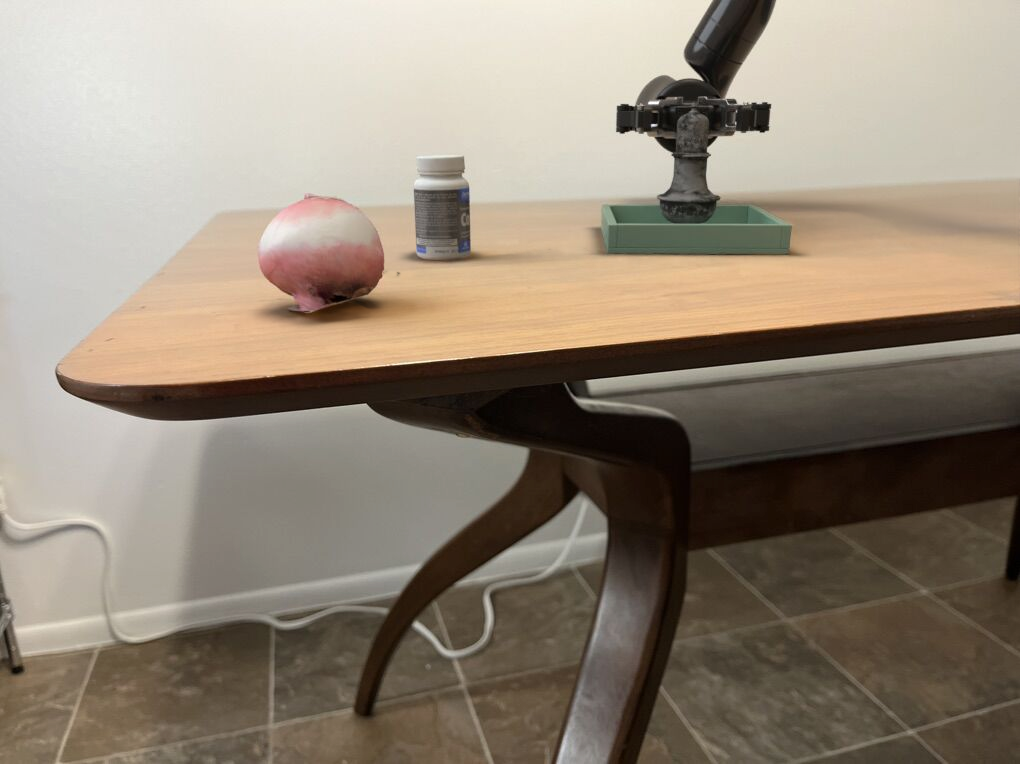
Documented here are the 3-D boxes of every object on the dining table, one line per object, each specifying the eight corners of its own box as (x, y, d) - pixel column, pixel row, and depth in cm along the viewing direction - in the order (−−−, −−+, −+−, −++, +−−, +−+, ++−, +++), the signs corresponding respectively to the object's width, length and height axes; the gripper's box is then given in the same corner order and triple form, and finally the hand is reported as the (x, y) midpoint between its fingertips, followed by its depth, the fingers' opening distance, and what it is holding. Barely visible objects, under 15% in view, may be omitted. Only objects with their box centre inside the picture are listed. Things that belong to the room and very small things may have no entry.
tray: (752, 229, 84) (754, 204, 83) (789, 254, 70) (792, 225, 69) (600, 228, 85) (601, 204, 84) (607, 253, 71) (608, 224, 70)
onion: (403, 297, 56) (398, 190, 53) (361, 326, 48) (353, 203, 46) (295, 292, 57) (285, 188, 55) (239, 320, 50) (225, 201, 48)
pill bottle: (474, 259, 69) (472, 157, 66) (418, 262, 68) (413, 157, 65) (467, 250, 73) (465, 153, 70) (414, 252, 72) (410, 154, 70)
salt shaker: (730, 235, 77) (741, 101, 73) (686, 241, 74) (695, 101, 70) (685, 228, 81) (693, 101, 77) (641, 233, 78) (648, 101, 74)
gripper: (618, 80, 87) (616, 75, 72) (755, 78, 85) (783, 72, 70) (616, 153, 89) (614, 162, 74) (749, 152, 87) (775, 162, 72)
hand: (696, 118), depth 72 cm, fingers open, 8 cm apart
